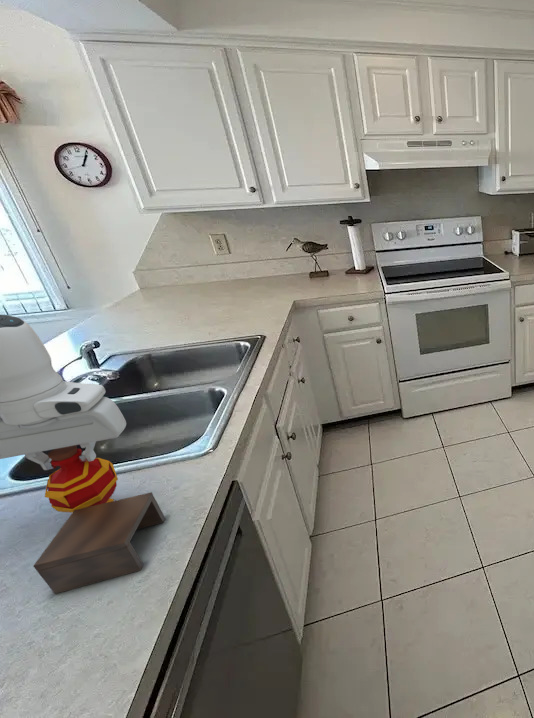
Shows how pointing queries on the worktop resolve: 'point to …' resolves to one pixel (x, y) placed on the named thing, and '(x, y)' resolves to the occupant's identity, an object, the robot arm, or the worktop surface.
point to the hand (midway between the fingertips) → (71, 463)
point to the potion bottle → (79, 481)
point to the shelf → (97, 543)
